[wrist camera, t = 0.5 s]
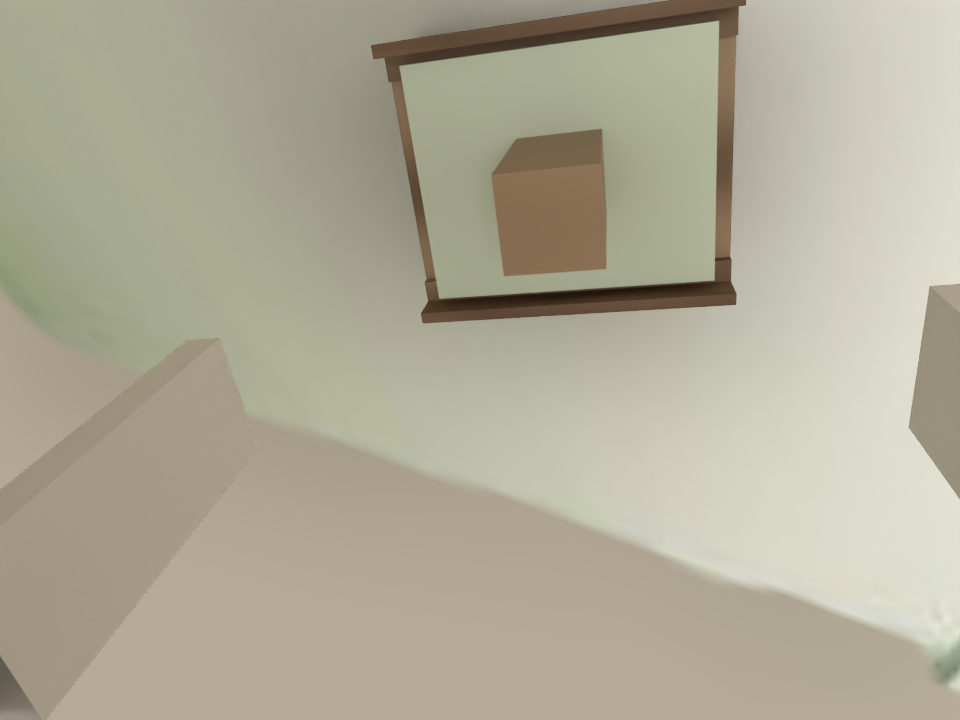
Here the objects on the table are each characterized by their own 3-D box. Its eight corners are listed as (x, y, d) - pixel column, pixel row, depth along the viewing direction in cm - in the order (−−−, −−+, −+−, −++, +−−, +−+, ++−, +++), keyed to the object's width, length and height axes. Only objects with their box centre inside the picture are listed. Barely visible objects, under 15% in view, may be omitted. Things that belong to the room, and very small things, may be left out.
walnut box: (417, 38, 33) (371, 45, 27) (716, -7, 31) (746, -11, 24) (454, 269, 39) (422, 323, 32) (712, 250, 36) (735, 304, 29)
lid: (404, 64, 28) (340, 82, 22) (715, 20, 26) (755, 24, 19) (442, 292, 33) (399, 367, 26) (712, 274, 30) (742, 351, 23)
